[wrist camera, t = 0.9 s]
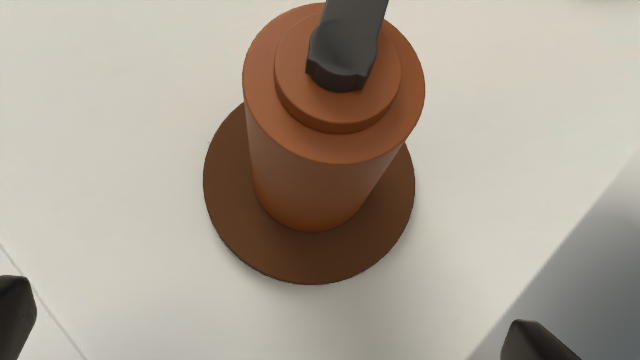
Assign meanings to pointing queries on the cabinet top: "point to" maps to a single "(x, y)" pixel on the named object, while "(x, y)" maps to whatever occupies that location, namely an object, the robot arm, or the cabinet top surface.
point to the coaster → (292, 245)
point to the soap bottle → (327, 109)
